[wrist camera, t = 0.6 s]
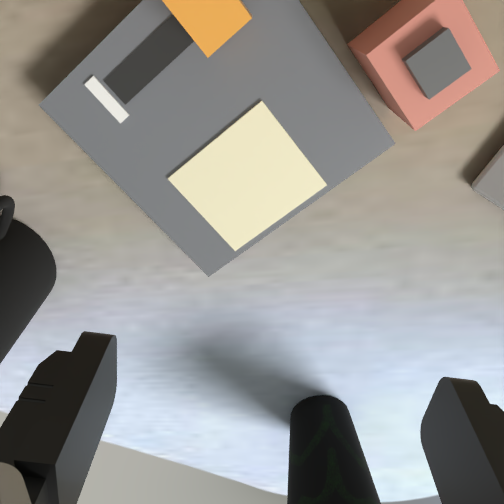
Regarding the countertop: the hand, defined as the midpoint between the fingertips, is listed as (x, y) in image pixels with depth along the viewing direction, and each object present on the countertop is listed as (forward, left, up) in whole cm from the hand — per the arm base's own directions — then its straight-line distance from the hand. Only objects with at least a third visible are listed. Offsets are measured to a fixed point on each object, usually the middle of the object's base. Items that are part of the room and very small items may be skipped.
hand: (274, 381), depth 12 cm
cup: (+12, +24, -24) cm, 36 cm away
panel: (+1, -3, -24) cm, 24 cm away
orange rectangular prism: (-3, -8, -21) cm, 23 cm away
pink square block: (-10, +1, -24) cm, 26 cm away
